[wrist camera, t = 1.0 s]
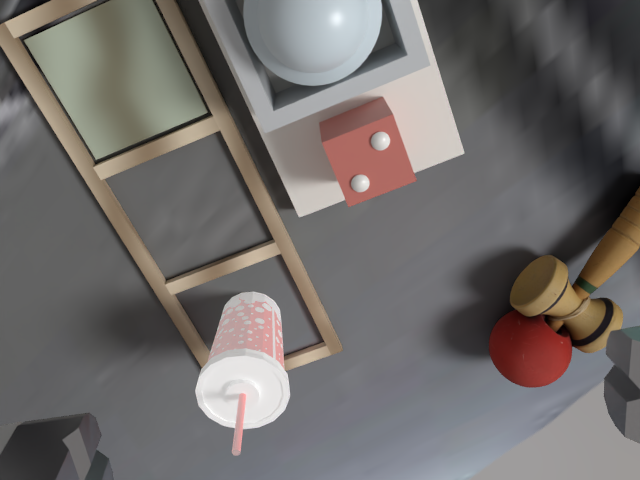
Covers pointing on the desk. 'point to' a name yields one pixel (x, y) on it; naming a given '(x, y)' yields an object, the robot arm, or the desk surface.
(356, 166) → the dome housing
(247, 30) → the dome
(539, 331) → the kendama
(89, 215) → the desk surface
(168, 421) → the desk surface
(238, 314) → the beverage cup
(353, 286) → the desk surface
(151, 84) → the wooden window frame
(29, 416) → the desk surface
